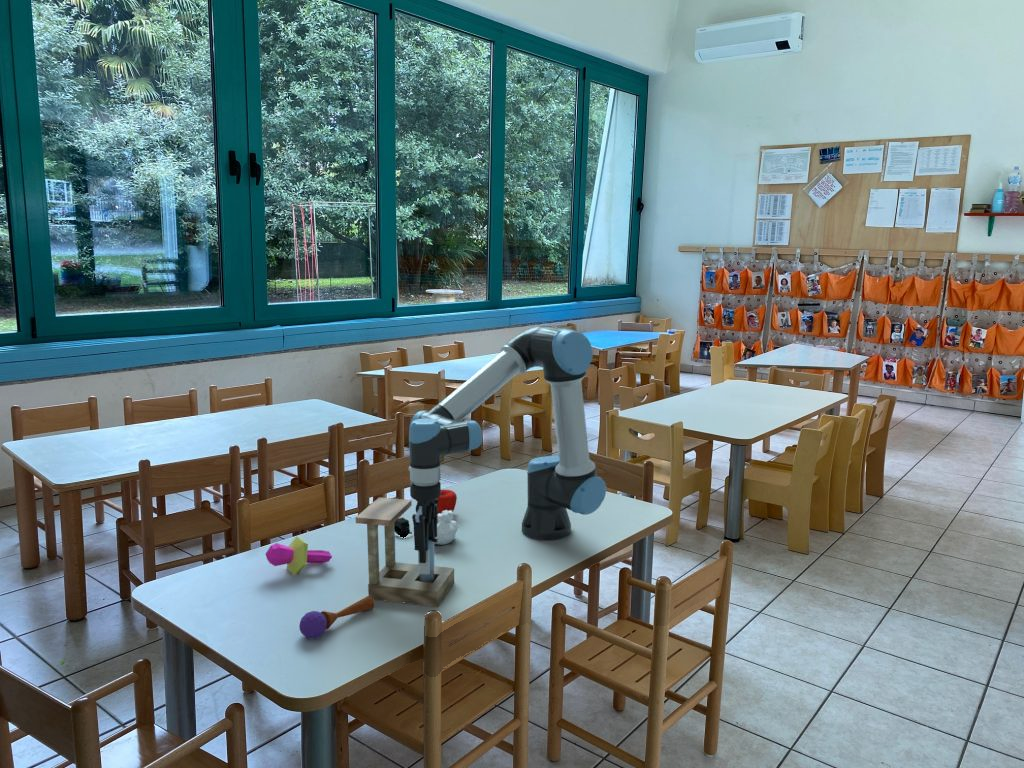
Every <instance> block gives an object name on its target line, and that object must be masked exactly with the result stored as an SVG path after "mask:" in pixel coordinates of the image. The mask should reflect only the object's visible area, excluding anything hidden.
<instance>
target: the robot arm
mask: <svg viewBox="0 0 1024 768" xmlns="http://www.w3.org/2000/svg"><path fill="white" fill-rule="evenodd" d="M499 352H500V353H498V354H497V355H496V356H495V357H493V359H492V360H490V361H489V362H487V364H485V365H484V366H483V367H481V368H480V369H479V370H478V371H477V372H475V373H474V374H473V375H472V376H471V377H469V378H468V379H467V380H466V381H464V382H463V383H462V384H460V386H458V387H457V388H456V389H455V390H453V392H451V393H450V394H449V395H448V396H446V397H445V398H444V399H442V400H441V401H440V402H439V403H437V404H436V405H435V406H434V407H432V408H431V409H430V410H426V409H425V410H420V411H418V412H416V413H415V414H414V415H413V417H412V418H411V421H410V424H409V429H408V430H409V432H408V442H409V443H408V445H409V451H408V452H409V467H408V469H407V470H408V471H409V479H410V480H409V481H410V484H409V492H410V493H409V494H410V498H411V499H413V500H415V501H416V506H415V514H414V513H413V514H412V516H411V518H412V523H413V532H414V536H413V537H414V538H413V540H414V543H413V544H414V551H418V552H417V553H418V557H417V558H418V559H417V561H418V567H419V574H427V575H429V574H430V549H428V540H431V541H433V542H436V543H437V542H438V539H435V537H437V523H438V518H437V514H438V502H439V501H438V499H437V498H439V497H440V495H441V490H442V489H441V482H440V481H441V480H442V478H441V477H442V476H441V475H442V473H441V457H442V456H447V455H453V454H457V453H458V454H459V453H463V452H469V451H472V450H473V451H474V450H475V449H478V448H479V447H480V446H482V443H483V431H482V428H481V425H480V424H479V423H478V422H477V421H475V420H466V419H465V418H466V417H468V416H470V414H472V412H474V411H475V410H476V409H478V408H479V407H480V406H481V405H482V404H484V403H485V401H487V400H488V399H489V398H490V397H491V396H493V395H494V394H495V393H497V392H498V391H499V390H500V389H501V388H502V387H503V386H504V385H506V384H507V383H508V382H509V381H511V380H512V379H513V378H514V377H515V376H516V375H518V374H519V375H524V374H525V373H526V372H527V371H528V370H530V369H531V368H535V367H536V368H537V367H538V368H542V371H543V378H544V381H545V382H546V383H548V384H549V385H550V391H551V392H550V393H551V399H552V408H553V416H554V424H555V425H554V426H555V434H556V441H557V450H558V455H545V456H540V457H535V458H533V459H531V460H530V461H529V462H528V464H527V465H528V466H527V467H528V468H527V471H526V472H527V507H526V510H525V513H524V515H523V518H522V522H521V532H522V534H524V535H525V536H526V537H529V538H532V539H536V540H545V541H550V540H559V539H563V538H565V537H568V536H570V534H571V533H572V522H571V520H570V516H569V514H568V510H569V511H571V512H573V513H574V514H580V515H583V516H585V515H591V514H592V513H593V514H594V512H596V511H597V510H598V509H599V508H600V507H601V505H602V503H603V502H604V501H605V498H606V494H607V484H606V482H605V480H604V479H603V478H602V477H600V476H598V475H597V469H596V467H597V466H596V463H595V462H594V461H592V459H590V452H589V443H588V433H587V423H586V413H585V406H584V405H585V404H584V396H583V395H584V394H583V384H582V381H583V379H584V378H585V377H586V376H587V372H586V371H588V369H589V368H590V366H591V362H592V360H593V346H592V343H591V342H590V340H589V339H588V337H587V336H586V335H584V333H582V332H580V331H578V330H574V329H572V328H563V327H555V326H549V325H536V326H533V327H531V328H528V329H526V330H524V331H523V332H521V333H519V334H517V335H515V336H514V337H513V338H512V339H510V340H509V341H508V342H506V343H505V344H504V345H503V346H502V347H501V348H500V351H499ZM464 419H465V420H464ZM435 566H436V564H435V561H434V567H435Z"/></svg>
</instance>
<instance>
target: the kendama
mask: <svg viewBox="0 0 1024 768" xmlns="http://www.w3.org/2000/svg"><path fill="white" fill-rule="evenodd" d="M374 608H375V600H373V598H372V597H370V596H369V595H367V596H365V597H363V598H361V599H360V600H358V601H356V602H354V603H352V604H350V605H349V606H347V607H345V608H343V609H341V610H340V611H338V612H332V611H331V612H330V611H325V610H322V611H321V612H320V611H318V610H317V611H316V610H312V611H309V612H306V613H305V614H304V615H303V616H302V617H301V618H300V622H299V631H300V633H301V634H302V635H303V636H304V637H305V638H307V639H310V638H314V639H318V638H320V637H321V636H322V635H323V634H324V633H325V632H326V630H329V629H330V628H331V627H332V625H333V624H334V623H335V622H336V621H337V619H338V618H339V619H340V618H343V617H347V616H351V615H354V614H358V613H363V612H366V611H367V612H368V611H370V609H371V610H373V609H374Z"/></svg>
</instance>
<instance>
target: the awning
mask: <svg viewBox="0 0 1024 768" xmlns="http://www.w3.org/2000/svg"><path fill="white" fill-rule="evenodd" d="M412 505H413V504H412V499H403V498H402V499H401V498H400V499H399V498H391V497H389V498H388V497H380V496H379V497H378V498H377V499H375V500H374V501H373V502H372V503H371V504H369V505H368V506H367V507H366V508H365V509H363V510H362V512H360V513H359V514H358V515H357V516H356V517H355V524H363V525H366V531H367V533H366V534H367V540H366V541H367V562H368V564H367V565H368V569H367V570H368V584H369V583H370V584H377V583H378V582H379V581H380V578H379V572H380V553H379V549H380V548H379V526H383V527H384V553H385V554H384V555H385V556H384V557H385V558H384V561H385V563H384V564H385V565H386V566H393V565H394V564H395V562H396V535H395V526H394V522H395V521H396V520H397V519H398V518H401V517H402V516H403V515H404V514H405V512H407V511H408V510H409V509H410V508H411V507H412Z"/></svg>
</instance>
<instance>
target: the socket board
mask: <svg viewBox="0 0 1024 768" xmlns="http://www.w3.org/2000/svg"><path fill="white" fill-rule="evenodd" d="M379 578H380V581H379V582H378V583H377V584H370V583H369V582H368V584H367V588H368V589H367V591H368V596H370V597H372V598H373V599H377V600H376V601H380V600H386V601H385V602H389V601H395V602H394V603H398V602H405V603H404V604H407V603H413V604H412V605H416V604H420V605H419V606H425V605H426V607H435V608H438V607H439V605H440V604H441V602H442V601H443V600H444V599H445V597H446V596H447V594H448V592H449V591H450V589H451V588H452V586H453V585H454V583H455V567H448V566H447V567H446V566H445V567H444V566H438V565H437V566H436V565H435V567H434V581H433V582H421V581H420V574H419V567H418V564H416V563H409V562H408V563H407V562H397V561H395V564H394V565H393V566H386V564H385V565H384V567H383V568H382V569H381V570H379ZM427 605H428V606H427Z"/></svg>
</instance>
